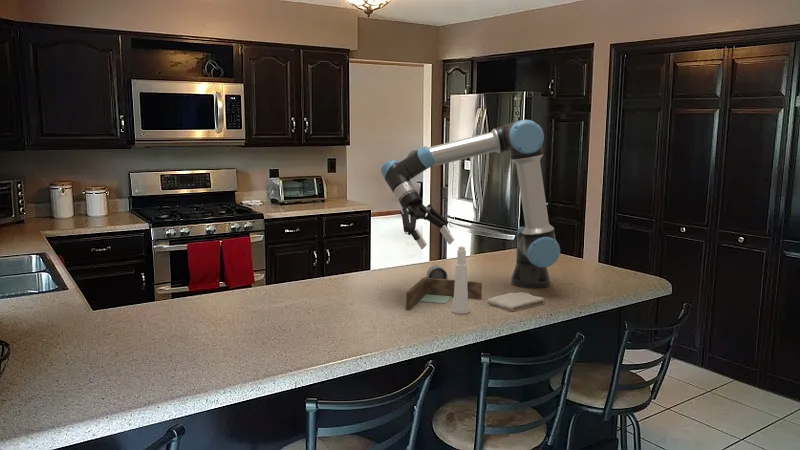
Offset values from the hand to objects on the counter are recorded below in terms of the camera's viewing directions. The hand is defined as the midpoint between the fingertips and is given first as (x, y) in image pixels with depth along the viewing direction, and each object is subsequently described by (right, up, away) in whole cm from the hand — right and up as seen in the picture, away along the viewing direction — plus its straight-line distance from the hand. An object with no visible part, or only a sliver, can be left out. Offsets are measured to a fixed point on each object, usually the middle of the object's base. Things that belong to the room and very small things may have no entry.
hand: (438, 244), depth 210 cm
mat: (0, -20, +10) cm, 23 cm away
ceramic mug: (0, -17, +32) cm, 36 cm away
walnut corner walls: (+3, -21, +5) cm, 22 cm away
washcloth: (+28, -22, +5) cm, 36 cm away
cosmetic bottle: (+7, -23, -4) cm, 24 cm away
